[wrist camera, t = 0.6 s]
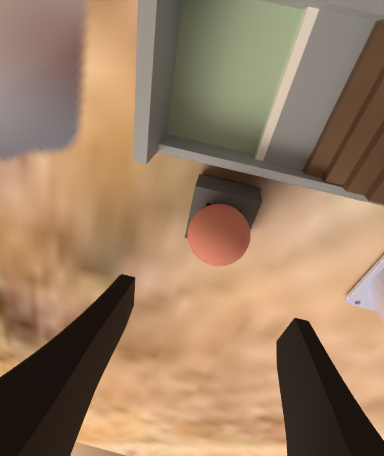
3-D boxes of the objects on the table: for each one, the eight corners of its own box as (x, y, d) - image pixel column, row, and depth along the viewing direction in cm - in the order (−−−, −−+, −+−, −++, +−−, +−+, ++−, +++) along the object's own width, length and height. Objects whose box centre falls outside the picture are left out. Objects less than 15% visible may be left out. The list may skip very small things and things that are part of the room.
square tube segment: (259, 188, 17) (261, 202, 15) (241, 235, 19) (241, 251, 18) (199, 173, 17) (195, 186, 15) (189, 222, 20) (184, 237, 18)
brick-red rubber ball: (257, 200, 16) (262, 237, 12) (239, 245, 18) (239, 285, 15) (198, 186, 16) (188, 219, 13) (188, 233, 18) (177, 270, 15)
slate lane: (478, 34, 11) (598, 21, 7) (370, 188, 16) (409, 227, 12) (172, -33, 11) (140, -76, 8) (157, 138, 16) (133, 161, 12)
